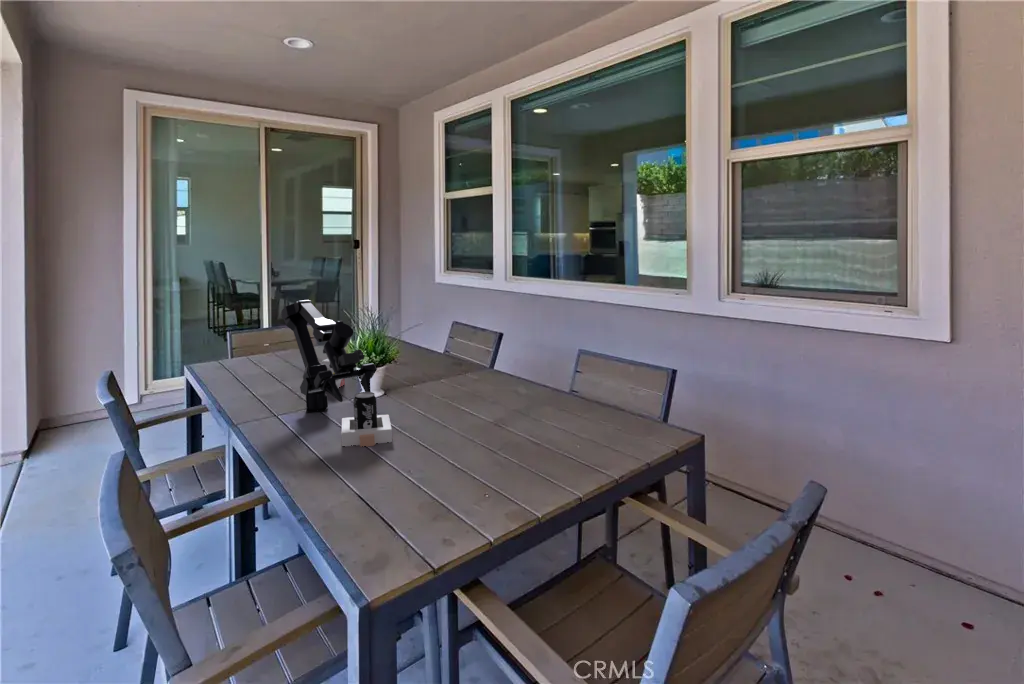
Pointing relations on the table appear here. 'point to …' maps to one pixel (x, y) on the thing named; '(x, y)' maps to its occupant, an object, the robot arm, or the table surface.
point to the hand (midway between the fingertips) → (356, 398)
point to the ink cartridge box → (338, 382)
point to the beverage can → (365, 410)
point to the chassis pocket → (366, 432)
